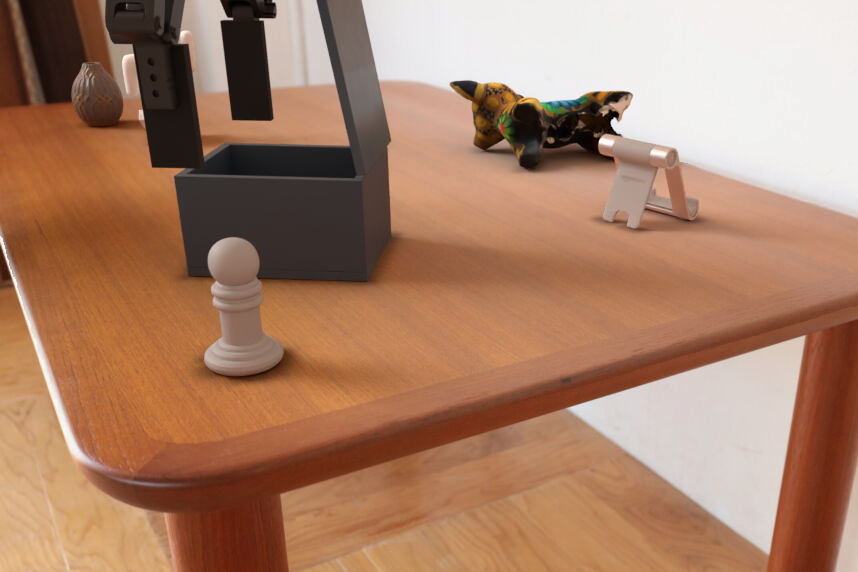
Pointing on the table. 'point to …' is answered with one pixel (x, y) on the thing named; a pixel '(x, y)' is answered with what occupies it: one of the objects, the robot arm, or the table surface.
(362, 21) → the lid
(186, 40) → the figurine
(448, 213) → the table surface
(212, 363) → the chess piece
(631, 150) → the tablet stand
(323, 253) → the chest
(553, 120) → the dog figurine
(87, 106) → the vase
